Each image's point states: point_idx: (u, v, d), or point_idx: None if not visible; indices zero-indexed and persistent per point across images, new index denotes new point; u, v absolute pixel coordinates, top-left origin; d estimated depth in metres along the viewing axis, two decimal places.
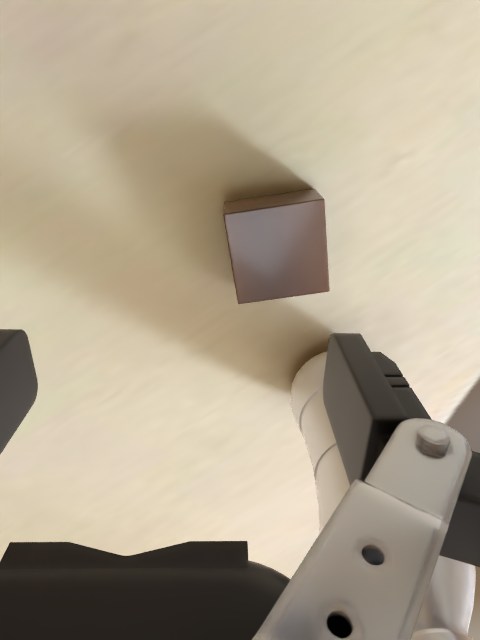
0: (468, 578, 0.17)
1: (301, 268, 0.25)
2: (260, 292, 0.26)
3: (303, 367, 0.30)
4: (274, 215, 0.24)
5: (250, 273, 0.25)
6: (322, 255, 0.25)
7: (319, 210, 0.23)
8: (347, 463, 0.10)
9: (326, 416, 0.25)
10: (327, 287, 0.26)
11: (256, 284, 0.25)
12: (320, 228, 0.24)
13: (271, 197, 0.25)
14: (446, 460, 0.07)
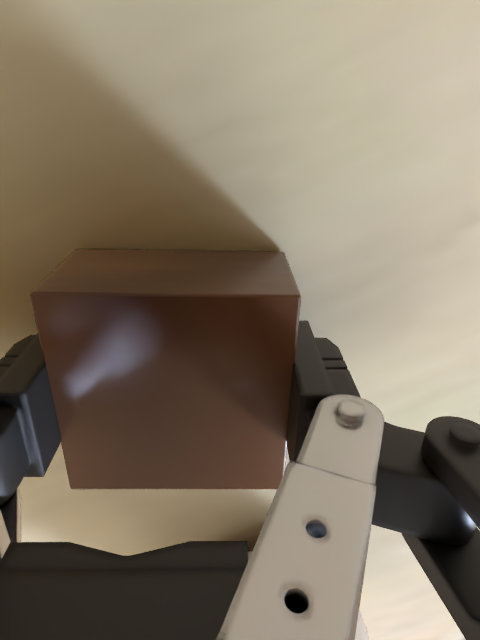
0: None
1: (223, 438, 0.10)
2: (124, 473, 0.11)
3: None
4: (167, 316, 0.09)
5: (99, 433, 0.10)
6: (277, 418, 0.10)
7: (285, 321, 0.09)
8: (288, 441, 0.10)
9: None
10: (279, 481, 0.11)
11: (115, 457, 0.11)
12: (281, 362, 0.09)
13: (181, 257, 0.11)
14: (358, 430, 0.07)
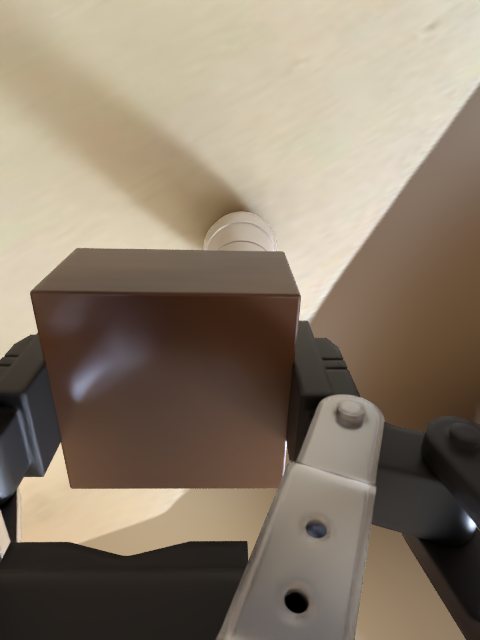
0: None
1: (223, 437, 0.10)
2: (124, 472, 0.11)
3: None
4: (167, 316, 0.09)
5: (99, 433, 0.10)
6: (277, 418, 0.10)
7: (285, 320, 0.09)
8: (288, 441, 0.10)
9: (221, 238, 0.34)
10: (279, 481, 0.11)
11: (114, 456, 0.11)
12: (281, 361, 0.09)
13: (181, 257, 0.11)
14: (358, 430, 0.07)
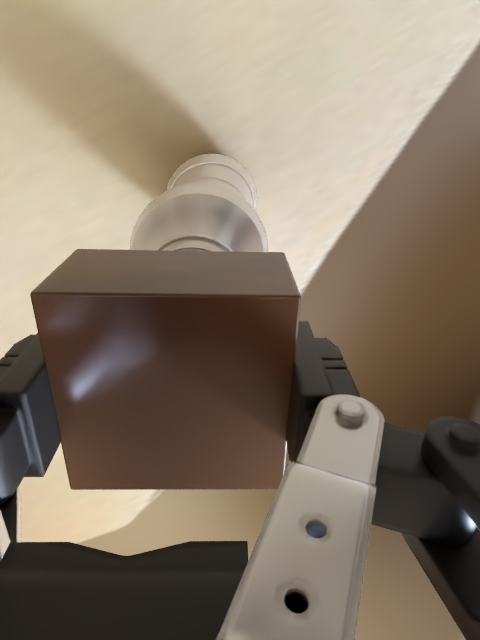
0: (250, 235, 0.19)
1: (223, 438, 0.10)
2: (124, 473, 0.11)
3: None
4: (168, 317, 0.09)
5: (99, 434, 0.10)
6: (277, 418, 0.10)
7: (285, 321, 0.09)
8: (288, 441, 0.10)
9: (183, 178, 0.26)
10: (279, 482, 0.11)
11: (115, 458, 0.11)
12: (281, 362, 0.09)
13: (181, 258, 0.11)
14: (358, 430, 0.07)
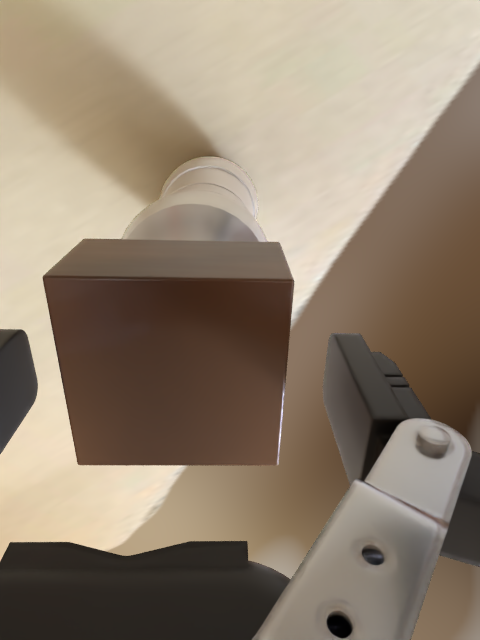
0: None
1: (222, 415, 0.11)
2: (128, 450, 0.12)
3: None
4: (170, 299, 0.10)
5: (105, 411, 0.11)
6: (272, 397, 0.11)
7: (279, 304, 0.10)
8: (347, 463, 0.10)
9: (177, 184, 0.24)
10: (275, 458, 0.12)
11: (119, 434, 0.11)
12: (276, 343, 0.10)
13: (182, 246, 0.11)
14: (446, 460, 0.07)
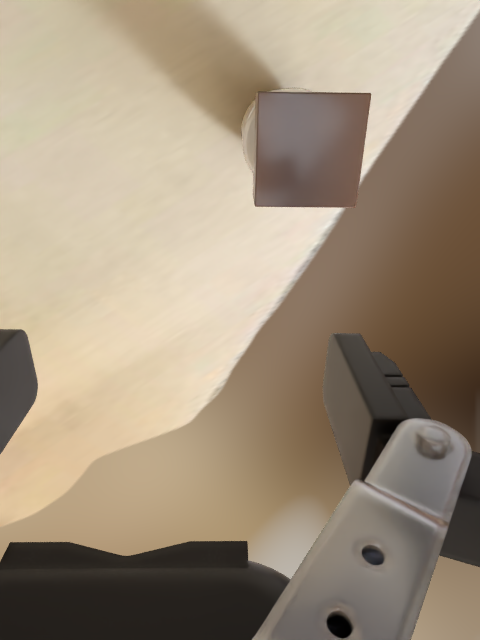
0: None
1: (330, 173, 0.23)
2: (282, 195, 0.23)
3: None
4: (314, 104, 0.21)
5: (274, 170, 0.22)
6: (356, 162, 0.22)
7: (363, 106, 0.21)
8: (347, 463, 0.10)
9: None
10: (354, 202, 0.23)
11: (279, 185, 0.23)
12: (360, 128, 0.22)
13: None
14: (446, 460, 0.07)
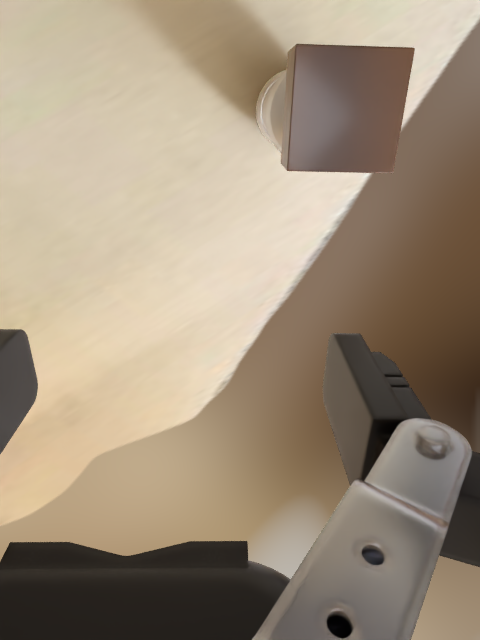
0: None
1: (368, 135, 0.21)
2: (316, 159, 0.22)
3: None
4: (354, 58, 0.20)
5: (309, 131, 0.21)
6: (396, 123, 0.21)
7: (406, 62, 0.20)
8: (347, 463, 0.10)
9: None
10: (392, 167, 0.22)
11: (313, 148, 0.22)
12: (402, 86, 0.20)
13: None
14: (446, 460, 0.07)
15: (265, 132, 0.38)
